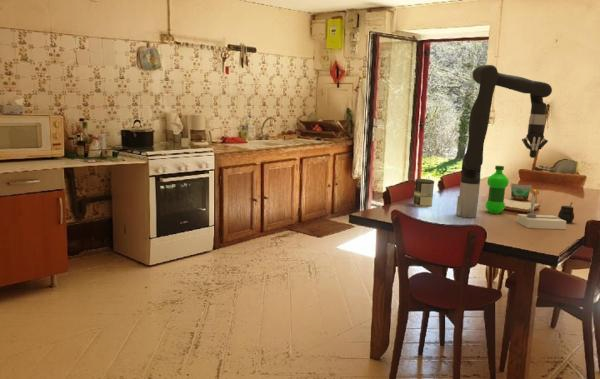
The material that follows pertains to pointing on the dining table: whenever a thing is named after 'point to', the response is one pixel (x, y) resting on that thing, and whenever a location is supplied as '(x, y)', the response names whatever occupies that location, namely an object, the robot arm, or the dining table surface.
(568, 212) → the mate gourd
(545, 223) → the block
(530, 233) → the dining table surface
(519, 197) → the food container
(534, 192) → the breaker handle
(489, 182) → the plastic bottle
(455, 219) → the dining table surface
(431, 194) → the coffee can
